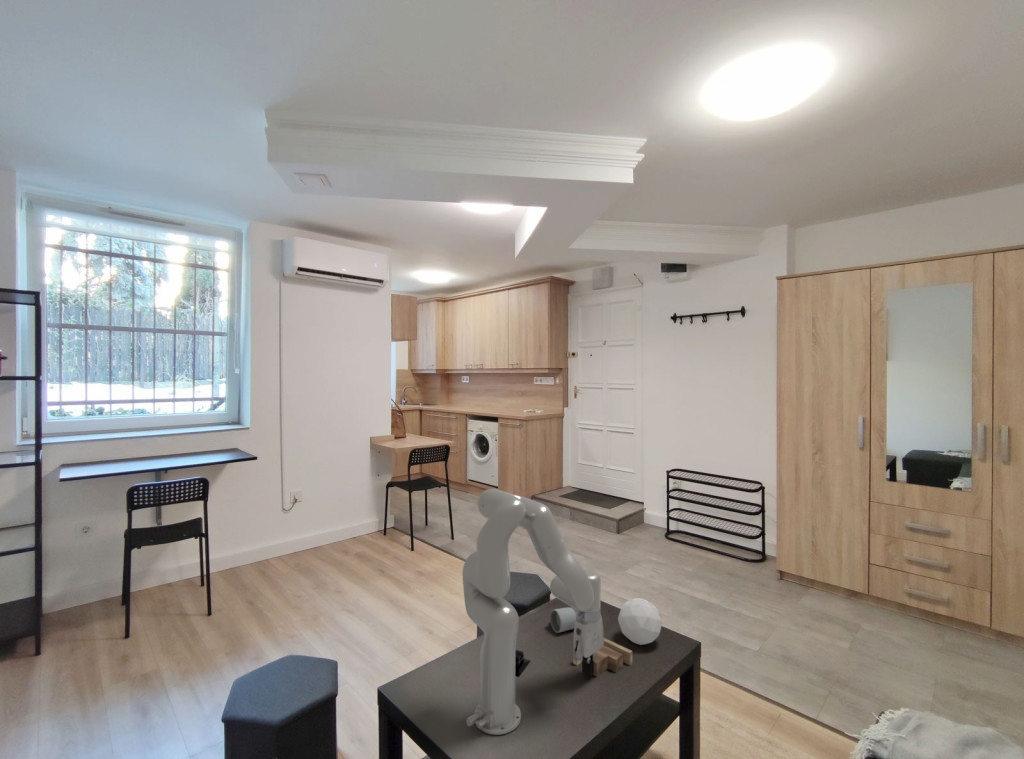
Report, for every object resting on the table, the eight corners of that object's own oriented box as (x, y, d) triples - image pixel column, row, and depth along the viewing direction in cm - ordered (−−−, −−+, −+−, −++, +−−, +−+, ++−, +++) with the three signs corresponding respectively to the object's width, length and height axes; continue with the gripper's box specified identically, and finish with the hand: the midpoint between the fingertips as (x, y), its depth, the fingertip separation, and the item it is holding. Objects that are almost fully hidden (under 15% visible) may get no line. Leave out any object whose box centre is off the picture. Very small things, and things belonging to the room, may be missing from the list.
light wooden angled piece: (609, 682, 141) (609, 669, 141) (566, 660, 153) (567, 647, 153) (632, 663, 151) (632, 650, 151) (591, 643, 162) (591, 632, 162)
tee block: (605, 681, 142) (605, 668, 142) (578, 667, 149) (578, 654, 149) (622, 667, 149) (622, 654, 149) (596, 654, 156) (596, 642, 156)
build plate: (519, 682, 142) (519, 667, 142) (497, 675, 145) (497, 661, 145) (534, 660, 153) (534, 646, 153) (514, 654, 156) (514, 641, 156)
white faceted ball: (651, 657, 163) (677, 632, 157) (616, 649, 158) (641, 623, 153) (637, 618, 175) (661, 594, 170) (605, 610, 171) (627, 585, 165)
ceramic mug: (579, 631, 170) (579, 610, 170) (560, 637, 166) (560, 615, 166) (563, 618, 180) (563, 598, 180) (545, 623, 176) (545, 602, 176)
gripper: (583, 626, 136) (583, 689, 136) (612, 608, 146) (611, 667, 146) (563, 617, 141) (562, 678, 141) (592, 600, 152) (591, 657, 152)
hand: (587, 672), depth 144 cm, fingers closed
